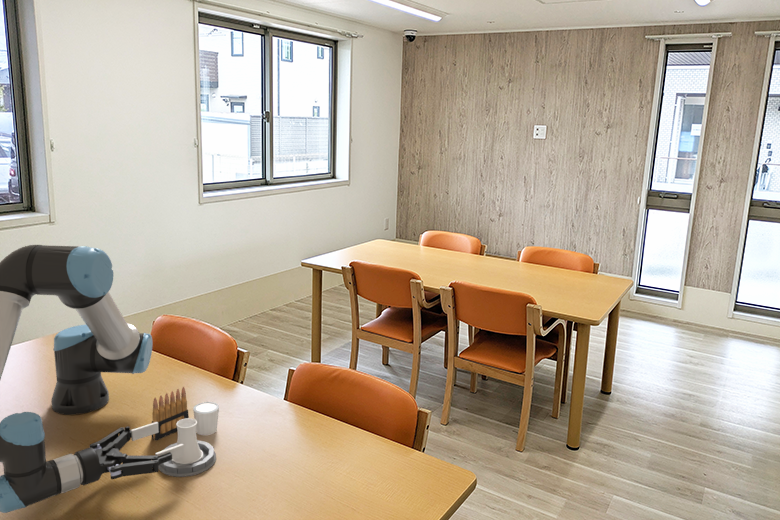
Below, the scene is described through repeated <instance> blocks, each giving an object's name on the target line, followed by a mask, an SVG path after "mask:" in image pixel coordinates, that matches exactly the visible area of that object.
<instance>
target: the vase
mask: <svg viewBox="0 0 780 520" xmlns="http://www.w3.org/2000/svg"><path fill="white" fill-rule="evenodd" d="M176 425H177V441H176V443H177V445H179V444H183V445H184V455H183V456H180V457H177V458H175V459H172V463H173V464H175V465H179V466H181V465H192V464H194V463H197V462H200V461H202V459H203V452H202V450H200V448H199V445H198V442H197V440H198V439H197V432H196V425H197V421H196V420H195V419H194V418H190V417H189V418H185V419H181V420H179V421H178V422H177V423H176Z"/></svg>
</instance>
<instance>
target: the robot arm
mask: <svg viewBox="0 0 780 520" xmlns="http://www.w3.org/2000/svg"><path fill="white" fill-rule="evenodd" d="M113 282H114V270H113V264H112V260H111V258H110V257H109V255H108V253H106V251H104V250H102V249H101V248H98V247H92V246H91V247H90V246H88V245H87V246H86V245H80V246H79V245H75V246H74V245H46V244H45V245H44V244H29V245H24V246H21V247H20V248H18V249H16V250H13V251H12V252H11V253H9V254H8V255H7V256H5V257H4V258H3V259H2V260H0V381H1V379H2V377H3V373H4V369H5V367H6V363H7V360H8V357H9V354H10V351H11V346H12V344H13V341H14V337H15V335H16V332H17V329H18V324H19V322H20V319H21V315H22V313H23V310H24V309H25V308H27V307H29V306H30V303H31V300H32V298H33V296H35V295H37V296H38V295H39V296H40V295H41V296H42V295H43V296H56V297H58V299H59V300H60V302H61V303H62V304H63V305H64V306H65V307H67V308H70V309H74V310H75V311H76V312H77V313H78V315H79V316H80V318H81V319H82V321H83V322H84V324H80V325H79V324H78V325H75V326H71V327H68V328H65V329H62V330H60V331H59V332H58V333H56V334H55V336H54V338H53V352H54V353H53V354H54V365H55V366H54V367H55V375H56V377H55V378H56V383H55V385H54V386H55V387H54V390H53V393H52V397H51V410H53V412H55V413H56V414H60V415H67V416H68V415H70V416H71V415H83V414H87V413H91V412H94V411H97V410H99V409H101V408H103V407H104V406H106V404H108V403H109V400H110V393H109V390H108V387H107V385H106V384H105V381H104V379H103V377H102V373H109V374H110V373H112V374H113V373H115V374H132V375H135V374H143V373H145V372H146V371H147V370H148V368H149V365H150V363H151V358H152V353H153V337H152V335H151V333H146V332H143V333H141V332H139V330H138V328H136V327H135V326H134V325H133V324H131V323H128V322H127V321H126V319H125V317H124V316H123V314H122V313H121V310H120V309H119V307H118V305H117V304H116V302H115V300H114V298H113V297H112V295H111V294H110V291H111V288H112V286H113ZM156 433H159V429H158V422H154V423H152V422H151V423H148V424H146V425H143V426H142V425H141V426H139V427H137V428H136V427H135V428H133V429H131V427H130V426H129V425H128V426H125V427H122V426H121V427H119V428H117V429H116V430H114V431H113V432H111V433H109V434H107V436H105V437H103V438H101V439H100V440H98V441H95V442H93V443H91V444H89V447H87V448H84V449H80V450H78V451H75V452H74V453H68V454H65V455H63V456H62V455H61V456H60V457H56V458H52V459H50V460H47V459H46V458H47V456H46V444H45V437H46V434H45V430H44V425H43V420H42V417H41V415H39V414H38V413H36V412H33V411H22V412H16V413H15V412H14V413H12V414H10V415H7V416H5V417H4V418H3V419H2V420H1V421H0V463H2V466H3V474H1V475H0V513H3V514H8V513H11V512H13V511H16V510H20V509H25V508H27V507H30V506H32V505H34V504H37V503H39V502H41V501H44V500H46V499H50V498H52V497H55V496H58V495H61V494H65V493H67V492H69V491H73V490H75V489H77V488H80V486H86V485H90V484H92V483H95V482H97V481H99V480H100V479H101V476H103V474H107V473H110V479H111V480H115V479H118V478H122V477H130V476H137V475H138V476H139V475H146V474H154V473H158V472H159V471H160V470H159V465H160V464H162V463H165V462H168V461H170V460H172V459H175V458H177V457H180V456H183V455H184V445H183V444H179V445H177V446H174V447H171V448H168V449H165V448H164V449H165V450H164V449H162V450H161V451H158V452H155V455H128V454H127V453H122V452H121V451H120V450H122V448H123V447H124V446H125V445H126V444H127V443H128V442H129V441H130V440H131V441H132V442H135V441H137V440H140V439H144V438H146V437H150V436H152V435H153V434H156Z"/></svg>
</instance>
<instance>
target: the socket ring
mask: <svg viewBox="0 0 780 520" xmlns="http://www.w3.org/2000/svg"><path fill="white" fill-rule="evenodd" d="M197 442H198V445H199V448H200V450H202V452H203V459H202V461H200V462H197V463H194V464H192V465H181V466H179V465H175V464H173V463H172V460H170V461H168V462H165V463H162V464H160V465H159V471H160V473H162V474H164V475H166V476H168V477H173V478H188V477H194V476H196V475H200V474H202V473H205V472H206V471H208V470H209V469H211V468H212V467H213V466H214V465H215V463H216V460H217V455H216V452H215V447H214V446H213V445H211V443H209V442H207V441H203V440H199V439H197ZM174 446H177V442H175V443H172V444H169V445H167V446H166V447H165V448H164V449H163V450H165V449H168V448H171V447H174Z"/></svg>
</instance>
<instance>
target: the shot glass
mask: <svg viewBox="0 0 780 520" xmlns="http://www.w3.org/2000/svg"><path fill="white" fill-rule="evenodd" d="M219 410H220V404H218V403H217V402H213V401H204V402H199V403H197V404H196V405H194V406H193V408H192V411H193V419H195V420H196V421H197V425H196V435H199V436H210V435H213V434H215V433H216V432H217V431H218V424H219V423H218V422H219V421H218V420H219V412H220V411H219Z"/></svg>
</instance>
